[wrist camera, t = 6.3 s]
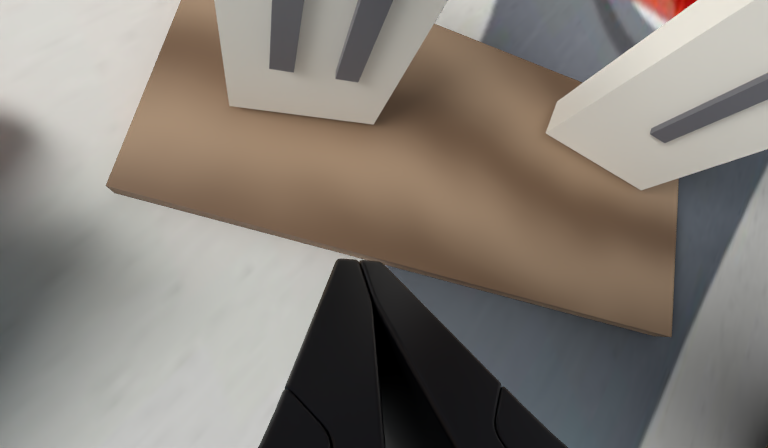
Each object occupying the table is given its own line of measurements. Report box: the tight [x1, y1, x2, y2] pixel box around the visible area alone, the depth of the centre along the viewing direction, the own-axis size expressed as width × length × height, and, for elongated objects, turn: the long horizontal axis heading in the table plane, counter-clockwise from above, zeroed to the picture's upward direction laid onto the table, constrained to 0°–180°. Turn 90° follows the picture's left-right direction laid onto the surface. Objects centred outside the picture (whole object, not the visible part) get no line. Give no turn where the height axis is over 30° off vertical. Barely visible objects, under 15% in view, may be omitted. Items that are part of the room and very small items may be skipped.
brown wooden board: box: [106, 0, 679, 337], centre depth 21 cm, size 12×26×1 cm, turn 77°
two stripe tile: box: [214, 0, 448, 125], centre depth 14 cm, size 2×6×11 cm, turn 89°
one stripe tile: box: [546, 0, 768, 190], centre depth 17 cm, size 2×6×11 cm, turn 65°
